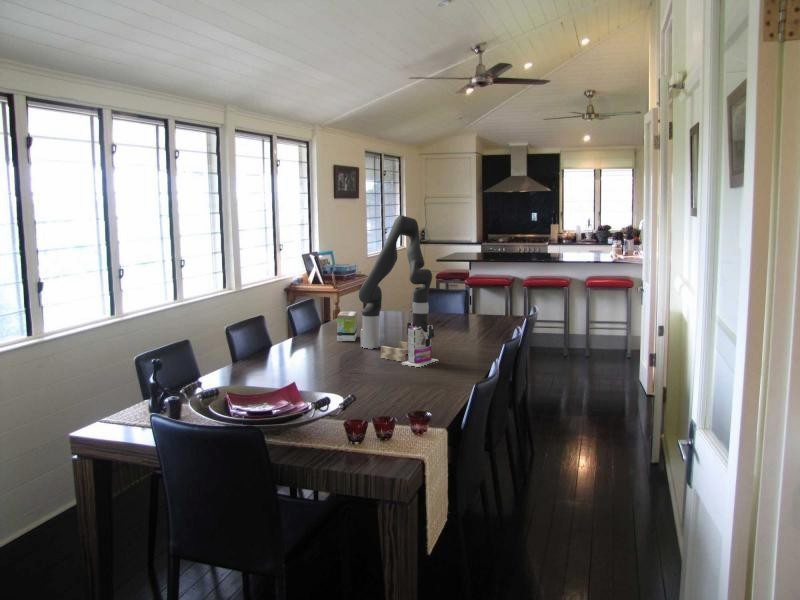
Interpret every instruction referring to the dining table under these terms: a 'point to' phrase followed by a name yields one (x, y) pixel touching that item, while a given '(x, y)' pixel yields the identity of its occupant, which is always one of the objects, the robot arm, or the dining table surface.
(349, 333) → the tea box
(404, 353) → the dispenser rack
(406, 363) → the white panel
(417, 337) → the candy bar box
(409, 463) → the dining table surface
